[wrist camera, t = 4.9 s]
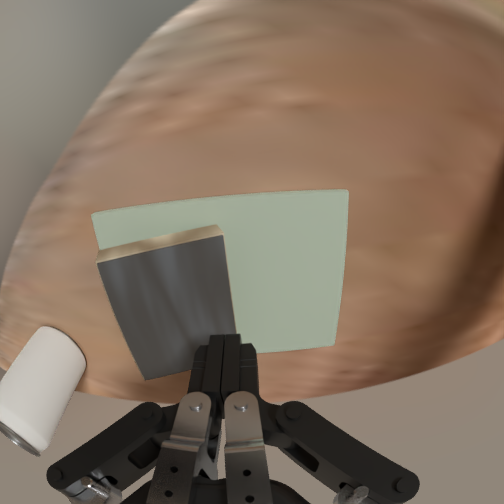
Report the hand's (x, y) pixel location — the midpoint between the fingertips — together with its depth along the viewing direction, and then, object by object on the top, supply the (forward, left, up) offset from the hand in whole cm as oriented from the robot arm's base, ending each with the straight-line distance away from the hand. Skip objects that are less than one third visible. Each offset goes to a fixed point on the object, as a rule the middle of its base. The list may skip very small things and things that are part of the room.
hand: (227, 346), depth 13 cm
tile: (0, 0, -4) cm, 4 cm away
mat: (+1, 0, -6) cm, 6 cm away
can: (+19, +7, -6) cm, 21 cm away
